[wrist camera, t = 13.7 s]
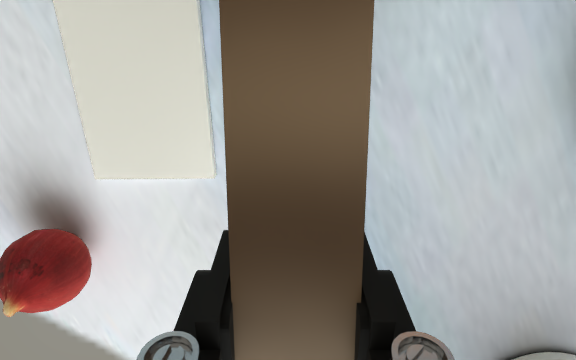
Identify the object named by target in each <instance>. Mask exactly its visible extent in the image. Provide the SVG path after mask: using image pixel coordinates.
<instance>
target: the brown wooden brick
mask: <svg viewBox="0 0 576 360" xmlns="http://www.w3.org/2000/svg"><path fill="white" fill-rule="evenodd" d="M219 8H220V33H221V58H222V82H223V107H224V132H225V156H226V181H227V206H228V231H229V255H230V280H231V303H233V326H234V351H235V360H354V356H355V331H356V307H357V303H361V292H362V269H363V246H364V223H365V200H366V177H367V154H368V131H369V108H370V85H371V62H372V39H373V17H374V0H219Z"/></svg>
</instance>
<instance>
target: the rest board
mask: <svg viewBox="0 0 576 360" xmlns="http://www.w3.org/2000/svg"><path fill="white" fill-rule="evenodd" d="M53 4H54V8H55V12H56V16H57V20H58V25H59V29H60V33H61V37H62V42H63V46H64V50H65V54H66V58H67V63H68V67H69V71H70V75H71V79H72V84H73V88H74V92H75V96H76V101H77V105H78V109H79V113H80V117H81V122H82V126H83V130H84V134H85V139H86V143H87V147H88V151H89V155H90V160H91V164H92V168H93V172H94V176H95V179H202V178H215V177H216V175H217V173H216V163H215V152H214V142H213V132H212V122H211V112H210V102H209V91H208V81H207V71H206V61H205V51H204V41H203V30H202V20H201V10H200V0H53Z"/></svg>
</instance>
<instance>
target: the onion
mask: <svg viewBox="0 0 576 360" xmlns="http://www.w3.org/2000/svg"><path fill="white" fill-rule="evenodd" d="M91 265H92V263H91V257H90V253H89V250H88V248H87V246H86V245H85V244H84V242H83V241H82V239H80V238H79V237H77V236H76V235H74V234H72V233H69V232H66V231H63V230H60V229H42V230H34V231H32V232H31V233H29V234H27V235H25V236H23V237H22V238H20V239H18V240H16V241H14V242H13V243H12V244H11V245H10V246H9V247H8V248H7V249H6V250H5V251H4V253H3V255H2V256H1V258H0V299H1V300H2V301H3V305H4V307H3V313H4V314H5V315H6V316H8V317H11V316H13V315H14V314H15V313H16V312H18V311H20V312H26V313H36V312H43V311H49V310H53V309H55V308H57V307H59V306H61V305H63V304H65V303H67V302H69V301H70V300H72V299H73V298H74V297H76V296H77V295H78V294H79V293H80V291H81V290H82V289H83V287H84V286H85V285H86V283H87V281H88V279H89V277H90V272H91Z"/></svg>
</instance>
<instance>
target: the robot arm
mask: <svg viewBox="0 0 576 360" xmlns="http://www.w3.org/2000/svg"><path fill="white" fill-rule="evenodd" d="M137 360H235V351H234V326H233V303H231V280H230V255H229V231H228V230H224V231H223V234H222V237H221V240H220V243H219V246H218V249H217V252H216V256H215V259H214V262H213V265H212V268H211V270H198V271H196V273H195V275H194V278H193V281H192V283H191V286H190V289H189V291H188V294H187V297H186V299H185V302H184V305H183V307H182V310H181V313H180V315H179V318H178V321H177V323H176V326H175V329H174V331H172V332H167V333H163V334H161V335H159V336H156V337H155V338H153V339H152V340H150V341H149V342H148V343H147V344H146V345H145V346H144V347H143V348H142V349H141V351H140V353H139V355H138V357H137ZM354 360H454V357H453V355H452V353H451V352H450V350H449V349H448V348H447V347H446V345H445V344H444V343H443V342H441V341H440V340H438V339H437V338H435V337H433V336H431V335H429V334H426V333H422V332H417V331H416V330H415V327H414V325H413V322H412V320H411V317H410V315H409V312H408V310H407V308H406V305H405V303H404V300H403V298H402V295H401V293H400V290H399V288H398V285H397V283H396V280H395V278H394V275H393V273H392V271H390V270H377V267H376V264H375V261H374V258H373V255H372V252H371V249H370V247H369V244H368V241H367V238H366V235H365V232H364V246H363V269H362V292H361V303H357V307H356V331H355V356H354ZM512 360H576V355H572V354H567V353H562V352H542V353H533V354H529V355H524V356H521V357H518V358H515V359H512Z"/></svg>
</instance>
